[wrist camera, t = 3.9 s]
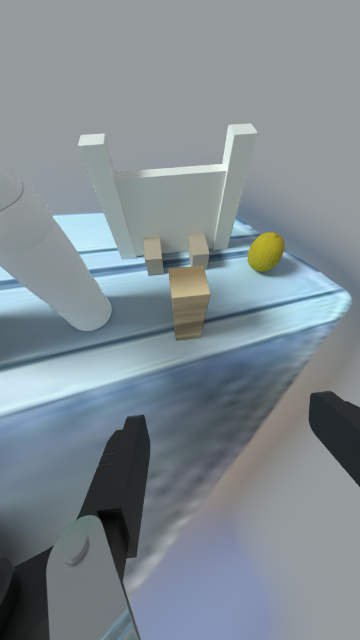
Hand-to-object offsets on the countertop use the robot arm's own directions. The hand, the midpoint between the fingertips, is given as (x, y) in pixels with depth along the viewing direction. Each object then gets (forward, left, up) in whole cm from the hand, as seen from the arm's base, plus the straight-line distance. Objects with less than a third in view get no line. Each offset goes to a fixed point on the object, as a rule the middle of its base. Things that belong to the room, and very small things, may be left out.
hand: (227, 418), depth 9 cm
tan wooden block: (+12, +6, -18) cm, 22 cm away
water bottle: (+8, +22, -18) cm, 30 cm away
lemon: (+29, -2, -18) cm, 34 cm away
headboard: (+25, +14, -18) cm, 34 cm away
